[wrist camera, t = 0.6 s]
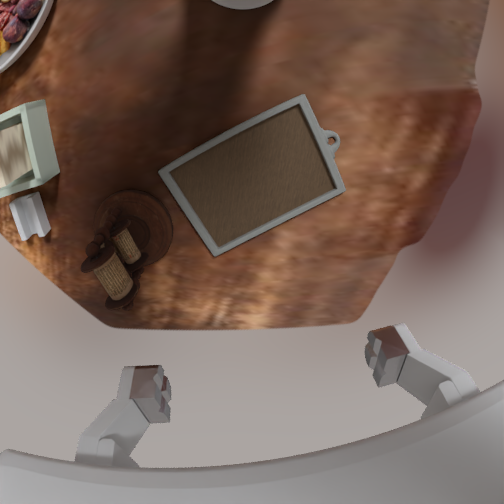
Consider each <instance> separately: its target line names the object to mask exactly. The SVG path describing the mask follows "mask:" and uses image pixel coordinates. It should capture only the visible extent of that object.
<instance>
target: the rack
mask: <svg viewBox="0 0 504 504" xmlns="http://www.w3.org/2000/svg"><path fill="white" fill-rule="evenodd" d="M20 122H22V124H23V129H24V134H25V138H26V143H27V147H28V152H29V156H30V160H31V164H32V168H33V169H32V170H30V171H28V172H27V173H25V174H24V175H22V176H20V177H19V178H17V179H16V180H14V181H13V182H11V183H10V184H8V185H7V186H5V187H2V188H0V198H1V197H4V196H7V195H10V194H13V193H17V192H20V191H23V190H26V189H29V188H33V187H36V186H39V185H43V184H44V183H45V182H47V181H48V180H50V179H51V178H52V177H54V176H55V175H57V174H58V173H59V172H60V170H59V166H58V162H57V157H56V153H55V149H54V144H53V140H52V135H51V130H50V125H49V120H48V115H47V109H46V103H45V99H44V100H39V101H34V102H29V103H25V104H22V105H20V106H18V107H16V108H13V109H11V110H9V111H7V112H5V113H3V114H1V115H0V131H1V130H3V129H5V128H7V127H9V126H12V125H14V124H17V123H20Z"/></svg>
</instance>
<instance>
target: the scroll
mask: <svg viewBox="0 0 504 504" xmlns="http://www.w3.org/2000/svg"><path fill="white" fill-rule="evenodd" d="M94 234H95V238H94V241H92V242H91V243H90V244H89V245H88V246H87V247H86V254H87V256H88V258H87V259H86V260H85V261H84V262H83V263H82V265H81V271H82V272H83V273H87V272H90V271H94V273H95V274H96V276H97V277H98V279H99V280H100V282H101V283H102V285H103V286H104V288H105V289H106V291H107V292H108V294H109V297H108V298H107V300H106V303H105V306H106V308H107V309H109V310H117V309H120V308H122V309H124V310H130V309H132V307H133V300H134V297H135V296H136V294H137V292H138V289H139V288H140V283H139V280H138V279H139V278H140V276H141V274H142V273H143V271H144V268H143V267H144V266H147V265H150V264H152V263H154V262H156V261H158V260H159V259H160V258H162V257H163V256H164V254H165V253H166V252H167V250H168V248H169V246H170V244H171V240H172V236H173V225H172V220H171V217H170V215H169V213H168V211H167V209H166V208H165V207H164V205H163V204H162V203H161V202H160V201H159V200H157V199H156V198H155V197H153V196H152V195H150V194H148V193H147V192H142V191H138V190H123V191H119V192H116V193H114V194H112V195H110V196H109V197H108V198H107V199H105V200H104V201H103V203H102V204H101V205H100V207H99V208H98V210H97V212H96V214H95V218H94ZM131 273H132V277H131Z"/></svg>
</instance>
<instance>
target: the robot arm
mask: <svg viewBox="0 0 504 504" xmlns="http://www.w3.org/2000/svg"><path fill="white" fill-rule="evenodd" d="M212 1H214V2H215V3H217V4H219V5H222V6H224V7H228V8H233V9H253V8H258V7H261V6H264V5H266V4H268V3H270V2H272V1H273V0H212ZM367 338H368V340H369V342H368V344H367V345H366V347H365V358H366V361H367V364H368V366H369V367H370V368H372V369H373V370H374V372H373V377H374V379H375V381H376V384H377V386H378V387H382V386H386V385H389V384H393V383H397V384H398V385H399V386H401V387H402V388H404V389H405V390H406V391H408V392H409V393H410V394H412V395H413V396H414V397H416V398H417V399H419V400H420V401H421V402H422V403H424V404H425V405H427V408H426V409H425V411H424V413H423V414H422V416H421V420H418V421H416V422H413V423H410V424H408V425H405V426H403V427H399V428H397V429H394V430H391V431H388V432H385V433H382V434H379V435H375V436H372V437H369V438H366V439H362V440H359V441H355V442H352V443H348V444H344V445H341V446H336V447H332V448H328V449H324V450H320V451H315V452H311V453H306V454H301V455H296V456H291V457H285V458H279V459H273V460H266V461H259V462H251V463H244V464H234V465H223V466H210V467H194V468H193V467H191V468H139V465H138V464H137V463H136V462H135V461H134V460H133V459H131V457H129V455H130V454H131V452H132V451H133V449H134V448H135V446H136V445H137V443H138V442H139V440H140V439H141V437H142V436H143V434H144V433H145V431H146V430H147V428H148V427H149V425H150V424H149V423H165V422H170V407H169V405H168V402H169V401H170V400H171V386H170V383H169V380H168V378H167V377H166V376H164V370H163V368H162V366H161V365H149V366H128V367H124V369H123V370H122V374H121V379H120V384H119V389H118V394H117V399H114V400H112V402H111V403H110V404H109V405H108V406H107V407H106V408H105V409H104V410H103V411H102V412H101V413H100V414H99V416H98V417H97V418H96V419H95V420H94V421H93V422H92V423H91V424H90V425H89V426H88V427H87V428H86V429H85V431H84V432H83V433H82V434H81V435H80V437H79V441H78V447H77V451H76V457H75V462H71V461H65V460H59V459H53V458H47V457H42V456H38V455H33V454H28V453H24V452H20V451H16V450H10V449H7V450H4V451H3V452H1V453H0V504H504V380H503V381H501V382H499V383H497V384H496V385H494V386H492V387H490V388H488V389H486V390H484V391H483V392H480V391H479V389H478V387H477V386H476V384H475V383H474V381H473V379H472V378H471V376H470V375H469V373H468V372H467V371H466V370H464V369H462V368H460V367H458V366H456V365H454V364H453V363H451V362H449V361H447V360H445V359H443V358H441V357H439V356H437V355H435V354H433V353H431V352H430V351H428V350H426V349H422V350H421V348H420V346H419V345H418V343H417V342H416V340H415V339H414V337H413V336H412V334H411V333H410V331H409V329H408V328H407V326H406V325H405V324H404V323H400V324H396V325H392V326H387V327H384V328H380V329H376V330H372V331H370V332H369V333H368V337H367Z"/></svg>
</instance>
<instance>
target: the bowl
mask: <svg viewBox="0 0 504 504" xmlns="http://www.w3.org/2000/svg"><path fill="white" fill-rule="evenodd" d="M53 1H54V0H0V73H2V72H3V71H4V70H6V69H7V68H8V67H10V66H11V65H12V64H13V63H14V62H15V61H16V60H17V59H18V58H19V57H20V56H21V55H22V54H23V53H24V52H25V50H26V49H27V48H28V47H29V45H30V44H31V43H32V41H33V40H34V39H35V37H36V36H37V34H38V33H39V31H40V29H41V28H42V26H43V24H44V22H45V20H46V18H47V16H48V14H49V12H50V9H51V7H52V4H53Z"/></svg>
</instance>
